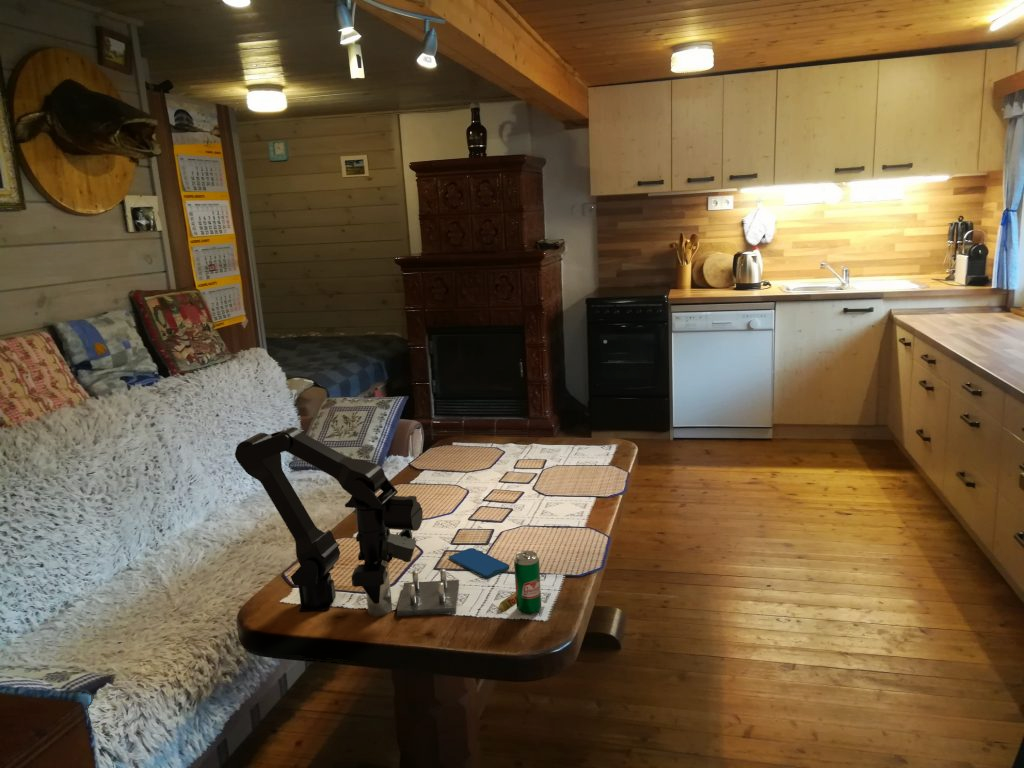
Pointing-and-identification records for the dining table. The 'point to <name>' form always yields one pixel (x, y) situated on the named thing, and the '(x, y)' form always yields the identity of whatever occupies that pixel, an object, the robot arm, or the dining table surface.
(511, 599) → the chocolate bar
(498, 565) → the smartphone
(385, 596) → the canister
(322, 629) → the dining table surface
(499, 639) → the dining table surface
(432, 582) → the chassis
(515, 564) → the soda can
